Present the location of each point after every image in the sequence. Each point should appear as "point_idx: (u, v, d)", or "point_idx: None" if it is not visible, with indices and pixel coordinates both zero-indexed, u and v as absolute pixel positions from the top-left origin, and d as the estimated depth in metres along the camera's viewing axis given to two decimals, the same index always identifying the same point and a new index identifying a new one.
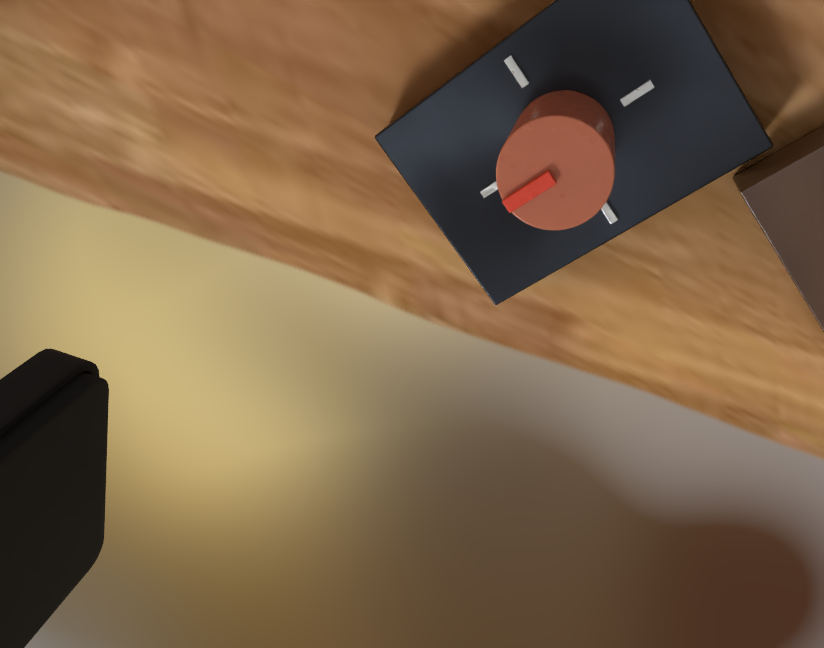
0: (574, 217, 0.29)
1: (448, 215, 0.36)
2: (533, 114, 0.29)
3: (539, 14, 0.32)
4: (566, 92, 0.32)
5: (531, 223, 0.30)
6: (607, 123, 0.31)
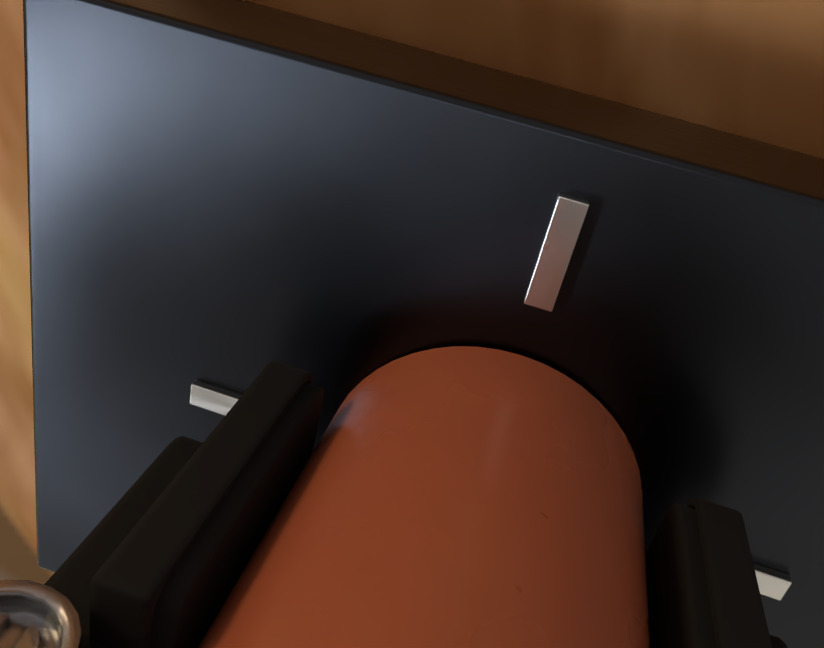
0: None
1: (73, 346, 0.11)
2: (509, 632, 0.06)
3: (775, 192, 0.08)
4: (613, 442, 0.09)
5: None
6: None
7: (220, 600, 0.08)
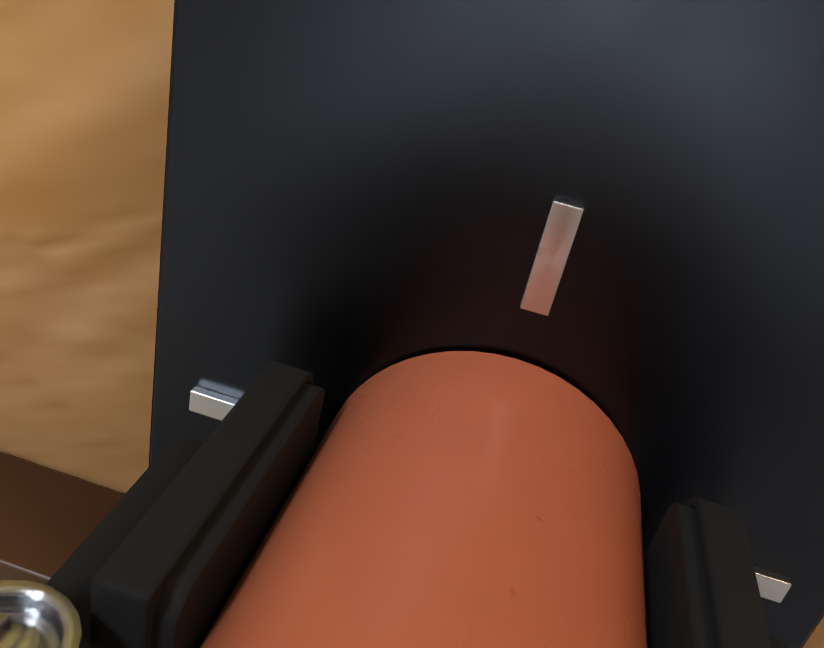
0: None
1: (630, 21, 0.08)
2: (503, 635, 0.06)
3: None
4: (609, 444, 0.09)
5: None
6: None
7: (220, 600, 0.08)
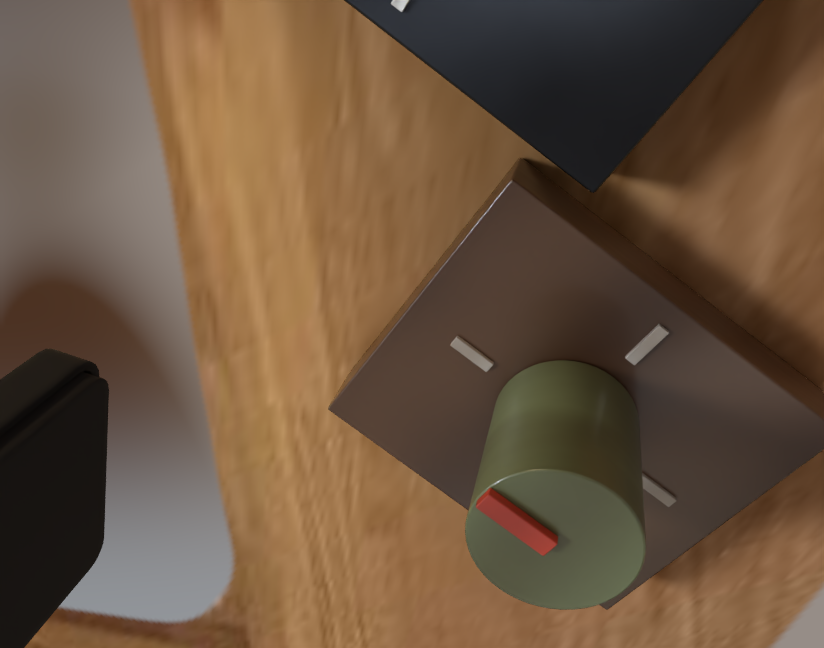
0: None
1: None
2: None
3: None
4: None
5: None
6: None
7: None
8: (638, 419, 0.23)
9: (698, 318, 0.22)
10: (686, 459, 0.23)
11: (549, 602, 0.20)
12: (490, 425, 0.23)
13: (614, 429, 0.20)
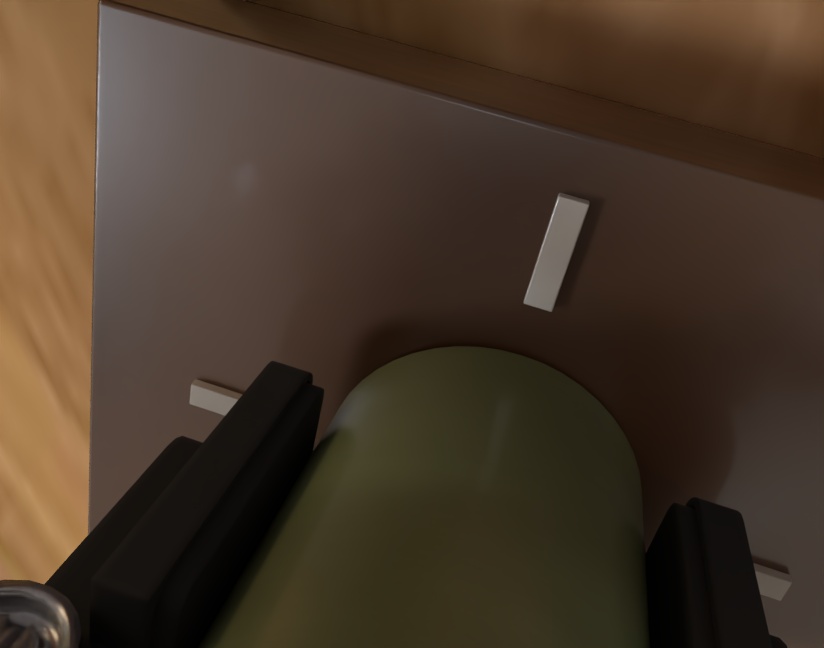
0: None
1: None
2: None
3: None
4: None
5: None
6: None
7: (220, 600, 0.08)
8: (615, 432, 0.09)
9: (650, 145, 0.09)
10: (774, 483, 0.10)
11: None
12: None
13: (494, 493, 0.07)
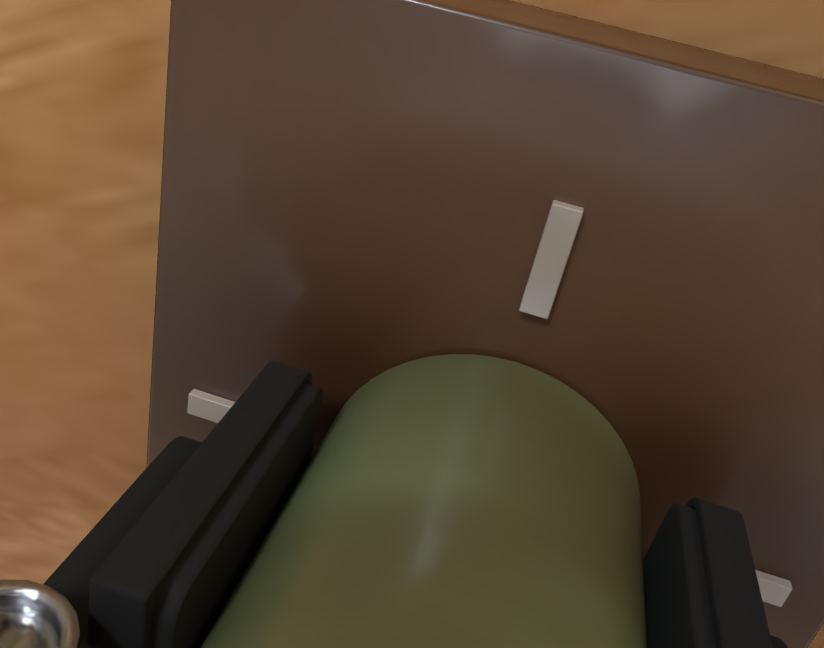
0: None
1: None
2: None
3: None
4: None
5: None
6: None
7: (219, 600, 0.08)
8: (612, 438, 0.09)
9: (810, 620, 0.11)
10: None
11: None
12: None
13: (486, 502, 0.07)
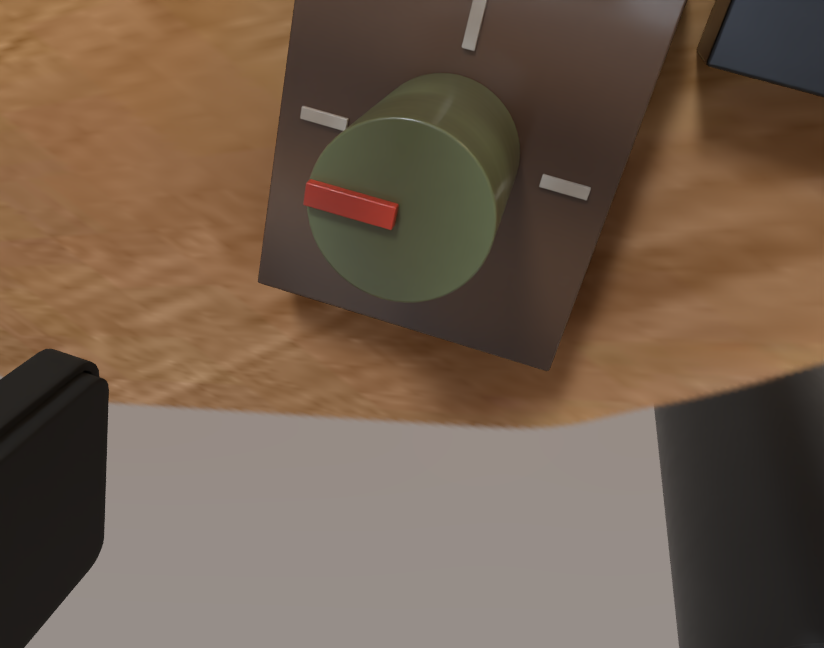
0: None
1: None
2: None
3: None
4: None
5: None
6: None
7: None
8: (503, 108, 0.21)
9: (605, 216, 0.22)
10: None
11: (432, 290, 0.18)
12: None
13: (443, 95, 0.18)
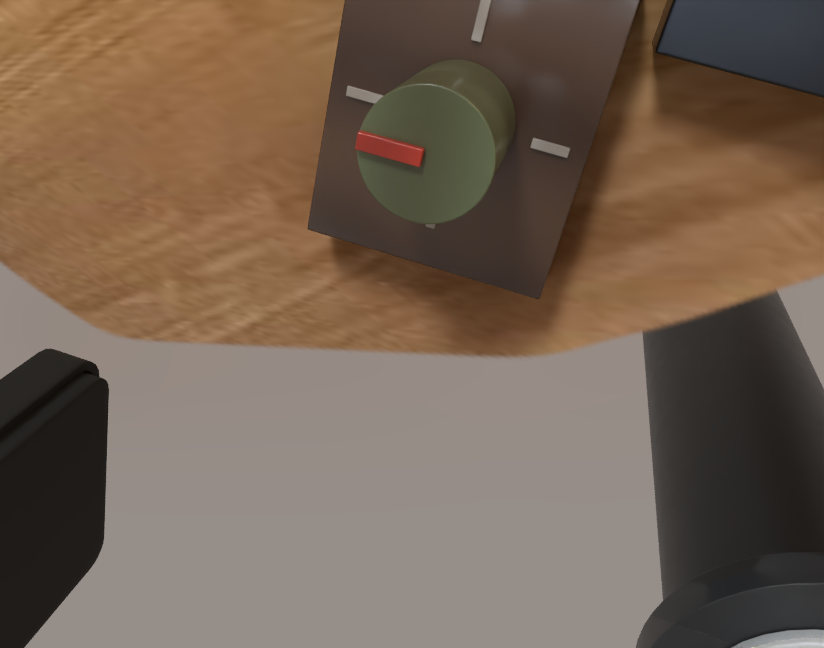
0: None
1: None
2: None
3: None
4: None
5: None
6: None
7: None
8: (503, 85, 0.27)
9: None
10: (470, 219, 0.30)
11: (448, 214, 0.24)
12: None
13: (457, 72, 0.25)
